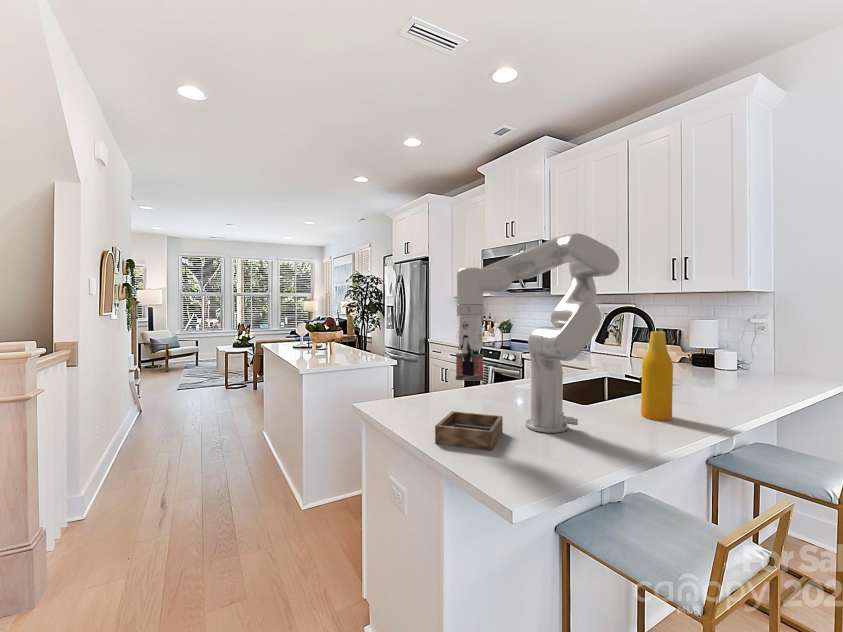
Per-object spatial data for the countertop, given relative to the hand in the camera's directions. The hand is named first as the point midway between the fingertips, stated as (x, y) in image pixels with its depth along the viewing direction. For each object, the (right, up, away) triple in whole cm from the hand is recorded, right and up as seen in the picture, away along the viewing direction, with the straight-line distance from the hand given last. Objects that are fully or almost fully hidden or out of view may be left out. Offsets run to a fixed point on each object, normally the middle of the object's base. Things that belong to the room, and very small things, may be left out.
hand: (470, 373), depth 120 cm
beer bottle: (+66, -18, +20) cm, 71 cm away
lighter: (0, -2, 0) cm, 2 cm away
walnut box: (0, -19, +1) cm, 19 cm away
